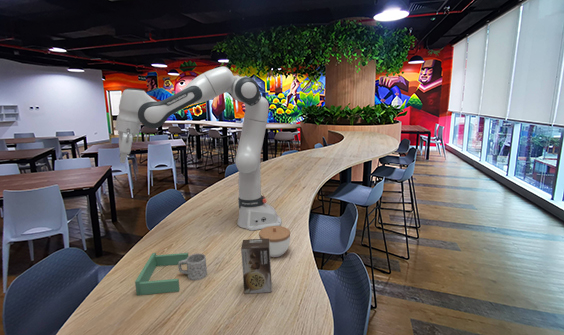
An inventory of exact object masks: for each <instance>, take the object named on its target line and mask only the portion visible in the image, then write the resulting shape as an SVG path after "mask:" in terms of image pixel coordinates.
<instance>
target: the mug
mask: <svg viewBox="0 0 564 335" xmlns="http://www.w3.org/2000/svg"><path fill="white" fill-rule="evenodd" d="M182 263H183V264H182ZM182 265H186V269H182ZM177 266H178V271H179V273H180V274H184V275H187V278H188V279H189V280H190V281H200V280H202V279H204V278H206V276H208V268H207V258H206V254H204V253H193V254H191V255H189V257H188V258H187V259H186V260H182V261H179V263H178V265H177Z"/></svg>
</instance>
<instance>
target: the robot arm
mask: <svg viewBox="0 0 564 335" xmlns="http://www.w3.org/2000/svg"><path fill="white" fill-rule="evenodd" d="M121 93H122V94H121V97H120V101H119V104H118V115H117V117H116V121H115V126H114V129H115V130H116V131H118V132H117V134H118V147H119V157H118V158H120V159H119V163H121V164H125V163H126V159H127V156H128V155H130V154H131V151H132V145H133V140H134V139H133V138H135V137H136V135H139V134H140V131H141V124H142V125H143V126H145V127H146V128H149V129H158V128H160V127H163V125H164V124H165V122H167V120H168V119H169V118H170V117H171V116H172V115H174V114H176V113H177V112H179V111H182V110H183V109H185V108H187V107H189V106H192V105H195V104H201V103H205V102H208V101H210V100H213V99H215V98H216V97H219V96H220V95H223V94H225V93H227V94H228V95H229V96H230V97H231V98H232V99H233V100H235V101H237V102H240V103H243V104H244V116H243V122H242V128H241V133H240V138H239V141H238V144H237V145H238V146H237V150H236V155H235V159H234V160H235V161H234V162H235V166H236V168H237V170H238V180H237V181H238V182H237V183H238V198H237V203H238V211H239V212H238V219H237V223H236V224H237V226H238V227H240V228H242V229H247V231H257V230H259V231H260V230H262V229H263V228H266V227H269V226H281V225H282V222H283V221H282V218H281V217H280V215H278V213H277V211H276V209H275V208H274V207H273V206H272V205H271V204H269V203H268V202H267V201H268V200H267V198H266V197H265V196H264V195H262V186H261V185H262V184H261V182H262V181H261V178H262V177H261V174H262V172H261V170H262V169H261V167H262V166H261V165H262V164H261V154H262V150H263V144H264V140H265V139H264V138H265V134H266V128H267V124H268V118H269V101H268V100H267V98H265V97H264V96H262V94H261V91H260V86H259V84H258V82H257V81H256V80H255V79H253V78H252V77H249V76H239V77H238V76H237V77H236V76H235V75H234V74H233V72H232V71H231V70H230V69H229V67H227V66H219V67H218V66H217V67H215V68H213V69H209V70H207V71H205V72H203V73H201V74H199V75H198V76H196V77H195V78H193V79H192V80H191V81H189V83H188V84H187V85H186V86H185V87H183V89H181V90H180V91H178V92H177V93H174V94H173V95H171V96H169V97H166V98H164V99H163V100H160V101H157V100H155V99H154V98H152V97H151V96H150V95H149V94H148V93H146V91H145V90H143V89H140V88H126V89H124V90H123V91H122V92H121Z"/></svg>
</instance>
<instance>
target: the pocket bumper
mask: <svg viewBox="0 0 564 335" xmlns="http://www.w3.org/2000/svg"><path fill="white" fill-rule="evenodd" d="M189 256H190V255H189V252H183V253H182V252H179V253H170V254H169V253H167V254H166V253H165V254H157V253H156V252H152V254H151V255H150V257H149V259H148V260H147V261H146V263H145V265H143V266H144V267H143V268H142V270H141V271H140V273H139V274H138V276H137V277H136V279H135V281H134V286H135V291H136V292H135V293H136V296H145V295H146V296H147V295H156V294H165V293H175V292H176V293H177V292H178V293H179V292H180V290H181V289H180V281H179V278H171V279H169V278H167V279H159V280H150V279H151V277H152V276H153V273H154V272H155V269H156V268H157V267H164V266H176V265H177V266H178V263H179V261H182V260H186V259H187V258H188V257H189ZM181 265H184V264H183V263H182V264H181Z"/></svg>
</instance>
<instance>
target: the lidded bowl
mask: <svg viewBox="0 0 564 335" xmlns="http://www.w3.org/2000/svg"><path fill="white" fill-rule="evenodd" d="M258 237H259V238H258V239H268V238H269V241H270V258H279V257H282V256H283V255H284V253H286V251H287V250H288V248H289V246H290V241H291V231H290V229H289V228H287V227H285V226H281V225H280V226H269V227H266V228H263V229H259V232H258Z"/></svg>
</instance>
